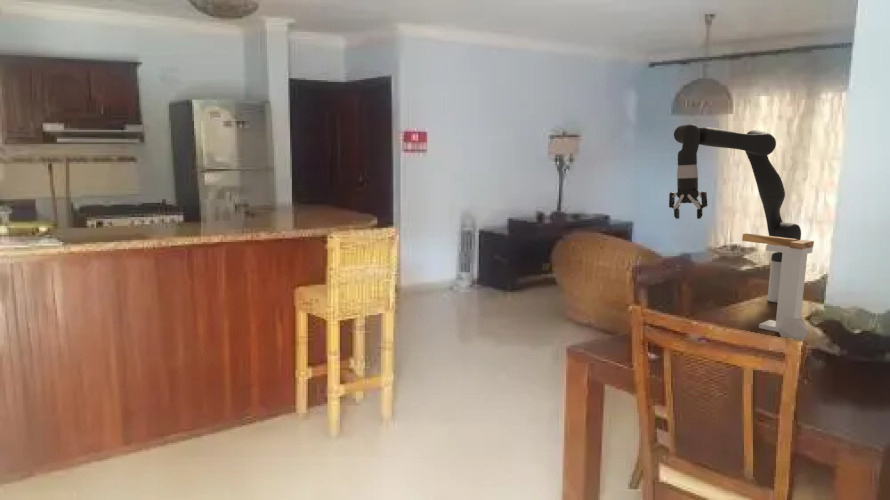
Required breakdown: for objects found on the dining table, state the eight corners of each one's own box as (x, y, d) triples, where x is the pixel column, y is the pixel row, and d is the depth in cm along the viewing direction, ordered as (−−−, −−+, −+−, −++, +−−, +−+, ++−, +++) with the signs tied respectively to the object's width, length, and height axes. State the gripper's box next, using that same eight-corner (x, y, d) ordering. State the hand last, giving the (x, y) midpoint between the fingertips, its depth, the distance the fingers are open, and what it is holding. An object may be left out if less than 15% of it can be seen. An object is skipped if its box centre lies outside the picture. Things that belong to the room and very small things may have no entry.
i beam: (769, 323, 249) (777, 242, 245) (804, 330, 241) (812, 246, 236) (758, 327, 243) (766, 244, 239) (793, 335, 235) (802, 249, 230)
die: (807, 342, 228) (791, 315, 232) (818, 336, 220) (802, 308, 223) (784, 352, 228) (768, 324, 231) (795, 346, 219) (778, 318, 223)
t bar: (749, 239, 252) (750, 232, 252) (813, 246, 236) (814, 239, 236) (737, 241, 246) (738, 234, 245) (802, 249, 230) (802, 242, 229)
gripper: (709, 175, 261) (710, 217, 263) (673, 177, 271) (674, 217, 273) (702, 176, 256) (702, 219, 258) (665, 178, 265) (666, 219, 267)
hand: (688, 218), depth 265 cm, fingers open, 8 cm apart
